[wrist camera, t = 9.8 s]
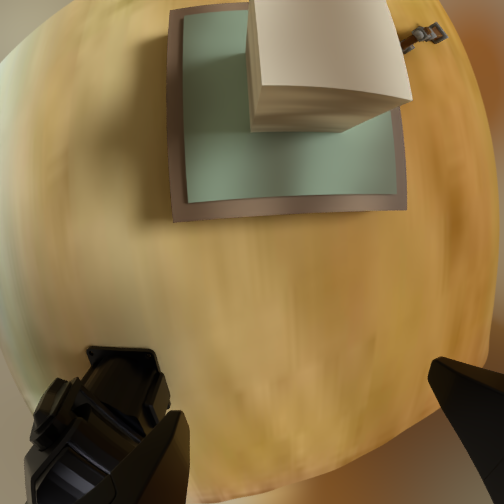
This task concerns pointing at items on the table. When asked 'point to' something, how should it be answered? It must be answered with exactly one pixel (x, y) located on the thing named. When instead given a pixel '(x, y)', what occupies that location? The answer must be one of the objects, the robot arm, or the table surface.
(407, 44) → the grey brown jointed piece
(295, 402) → the table surface
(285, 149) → the brown and green tray
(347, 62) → the maple block
